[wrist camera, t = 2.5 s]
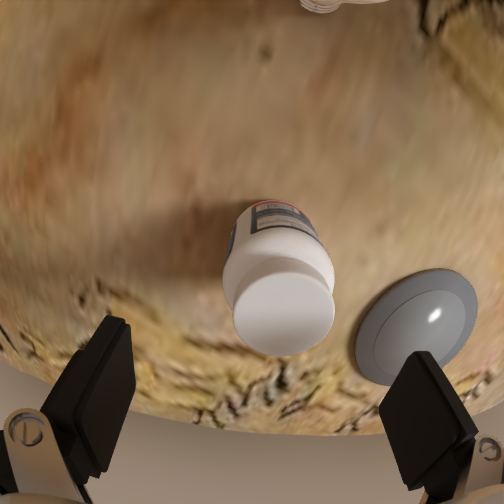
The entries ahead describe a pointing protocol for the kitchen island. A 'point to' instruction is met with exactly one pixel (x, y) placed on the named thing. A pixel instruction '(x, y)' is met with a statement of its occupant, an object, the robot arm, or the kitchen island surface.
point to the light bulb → (330, 4)
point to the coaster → (416, 323)
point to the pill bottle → (278, 280)
